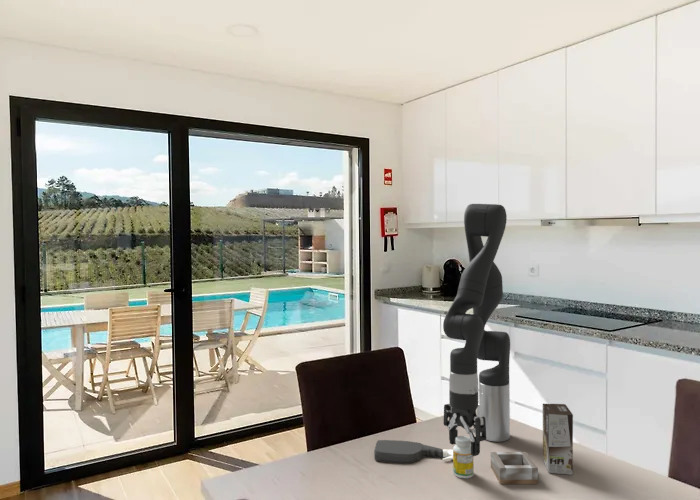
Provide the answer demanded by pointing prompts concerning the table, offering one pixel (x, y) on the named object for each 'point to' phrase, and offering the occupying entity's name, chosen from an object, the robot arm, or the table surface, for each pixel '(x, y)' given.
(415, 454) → the spray bottle
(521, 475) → the post socket
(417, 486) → the table surface
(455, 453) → the supplement bottle
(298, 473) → the table surface
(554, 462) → the coffee box
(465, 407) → the robot arm
